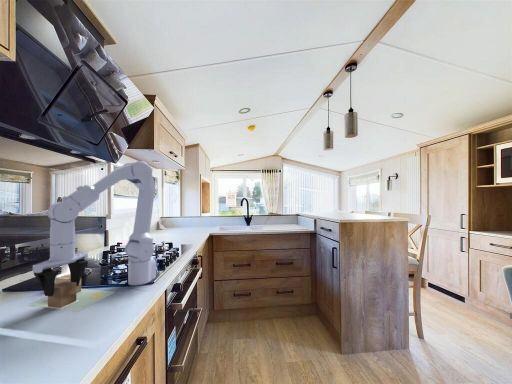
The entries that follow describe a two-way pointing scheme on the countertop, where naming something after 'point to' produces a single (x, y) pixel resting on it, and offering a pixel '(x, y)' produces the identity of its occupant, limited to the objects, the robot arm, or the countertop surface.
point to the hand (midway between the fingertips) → (62, 290)
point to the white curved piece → (63, 271)
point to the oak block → (68, 279)
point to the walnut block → (63, 294)
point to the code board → (78, 300)
